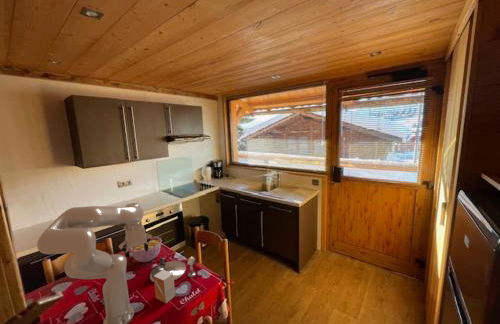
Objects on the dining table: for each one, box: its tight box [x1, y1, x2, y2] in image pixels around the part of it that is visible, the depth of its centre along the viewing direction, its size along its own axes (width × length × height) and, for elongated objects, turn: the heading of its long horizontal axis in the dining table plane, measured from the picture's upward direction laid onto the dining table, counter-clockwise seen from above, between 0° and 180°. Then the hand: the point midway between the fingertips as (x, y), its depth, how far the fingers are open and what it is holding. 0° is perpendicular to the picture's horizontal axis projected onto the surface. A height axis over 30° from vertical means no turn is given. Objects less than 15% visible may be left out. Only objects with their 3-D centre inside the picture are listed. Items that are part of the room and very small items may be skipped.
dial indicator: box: [187, 256, 197, 278], centre depth 131 cm, size 4×4×12 cm
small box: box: [153, 270, 176, 304], centre depth 113 cm, size 8×6×13 cm
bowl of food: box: [129, 236, 162, 263], centre depth 151 cm, size 20×20×12 cm
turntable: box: [149, 256, 187, 283], centre depth 134 cm, size 21×21×6 cm
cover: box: [151, 264, 164, 279], centre depth 130 cm, size 7×7×5 cm
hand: (137, 254), depth 123 cm, fingers open, 9 cm apart
